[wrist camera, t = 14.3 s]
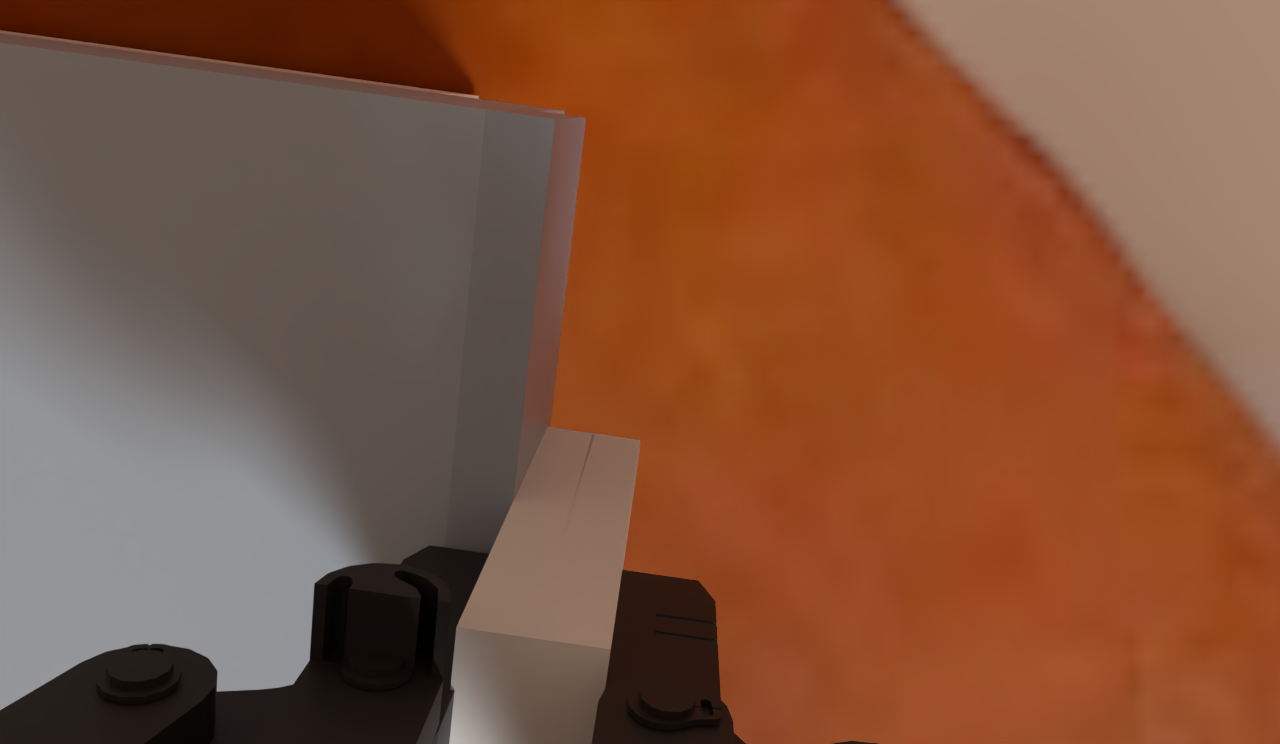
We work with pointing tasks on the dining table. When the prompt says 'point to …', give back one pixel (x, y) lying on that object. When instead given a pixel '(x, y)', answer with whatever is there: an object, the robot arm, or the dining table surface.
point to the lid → (256, 344)
